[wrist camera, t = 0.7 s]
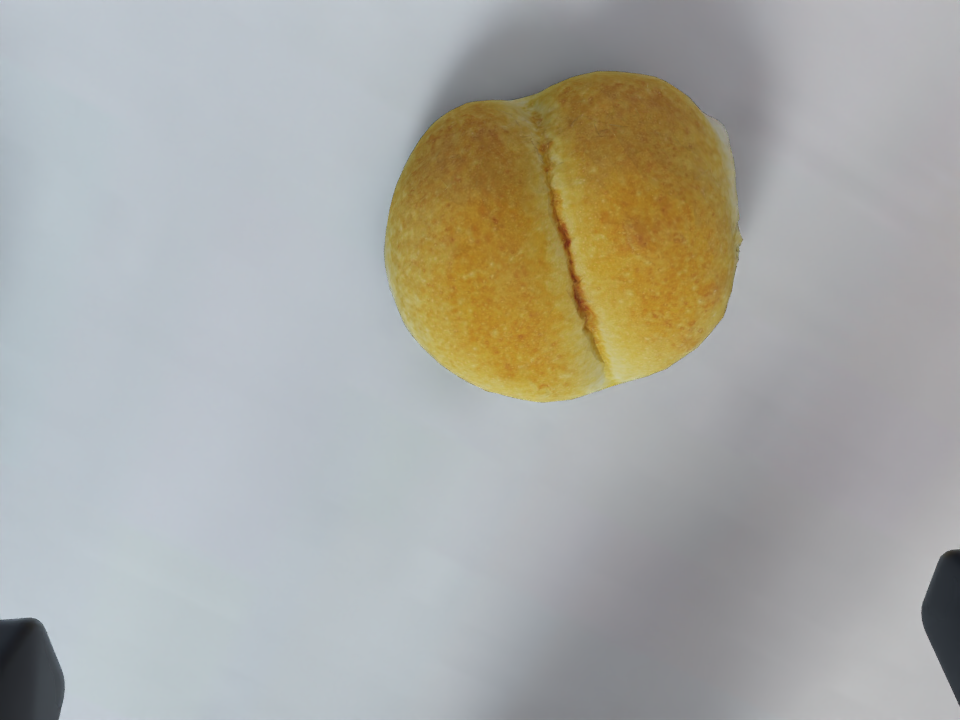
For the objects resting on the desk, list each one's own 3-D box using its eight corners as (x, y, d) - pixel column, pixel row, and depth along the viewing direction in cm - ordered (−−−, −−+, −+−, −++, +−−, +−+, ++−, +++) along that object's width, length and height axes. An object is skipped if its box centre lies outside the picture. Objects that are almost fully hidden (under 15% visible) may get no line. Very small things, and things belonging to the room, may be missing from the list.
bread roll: (347, 132, 20) (334, 157, 16) (693, 39, 20) (759, 43, 16) (433, 413, 23) (438, 486, 20) (729, 335, 23) (790, 395, 19)
